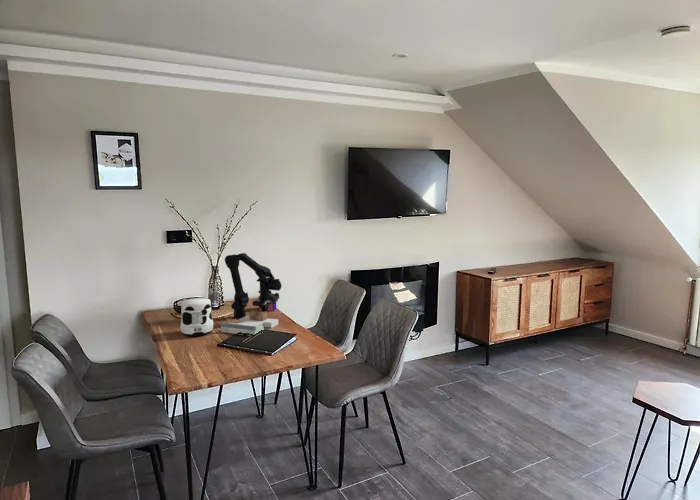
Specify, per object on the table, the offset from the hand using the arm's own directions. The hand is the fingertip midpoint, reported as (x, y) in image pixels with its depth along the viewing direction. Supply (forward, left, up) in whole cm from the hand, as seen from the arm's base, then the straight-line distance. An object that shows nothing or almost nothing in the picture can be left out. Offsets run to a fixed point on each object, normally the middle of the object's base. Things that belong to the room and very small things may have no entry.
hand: (265, 314), depth 284 cm
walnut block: (0, -7, -1) cm, 7 cm away
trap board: (0, -16, -4) cm, 16 cm away
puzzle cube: (-14, +27, -4) cm, 31 cm away
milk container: (-21, -35, -4) cm, 42 cm away
